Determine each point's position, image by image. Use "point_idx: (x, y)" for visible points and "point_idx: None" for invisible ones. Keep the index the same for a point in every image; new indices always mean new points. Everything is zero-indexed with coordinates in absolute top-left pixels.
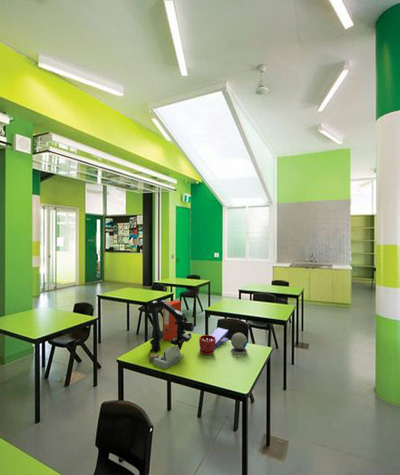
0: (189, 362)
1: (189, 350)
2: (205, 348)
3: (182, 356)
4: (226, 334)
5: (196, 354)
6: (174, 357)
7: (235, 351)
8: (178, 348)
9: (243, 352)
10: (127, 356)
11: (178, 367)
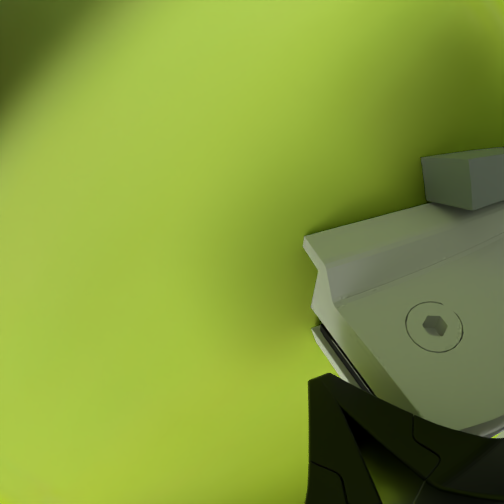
0: (348, 3)
1: (43, 360)
2: None
3: (309, 236)
4: None
5: (23, 154)
6: (484, 229)
7: None
8: (424, 382)
9: None
10: (493, 436)
11: (493, 59)
